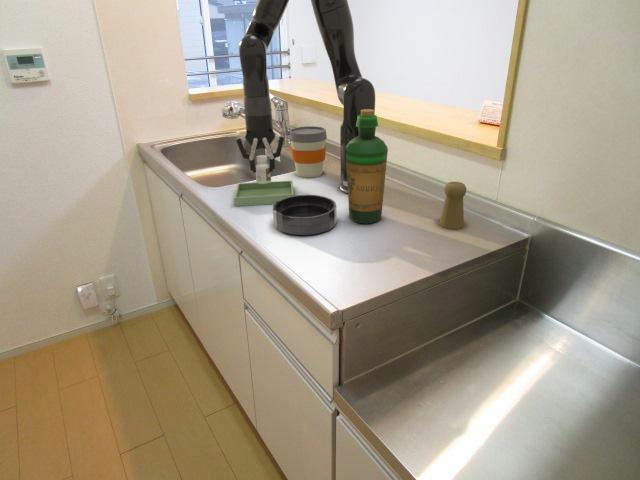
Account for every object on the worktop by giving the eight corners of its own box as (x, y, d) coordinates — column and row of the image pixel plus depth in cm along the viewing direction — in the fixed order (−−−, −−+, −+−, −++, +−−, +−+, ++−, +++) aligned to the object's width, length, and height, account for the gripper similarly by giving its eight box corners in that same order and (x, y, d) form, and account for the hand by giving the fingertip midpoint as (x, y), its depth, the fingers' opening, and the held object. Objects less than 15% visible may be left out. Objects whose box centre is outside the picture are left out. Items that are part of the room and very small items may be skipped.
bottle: (339, 223, 117) (339, 113, 105) (351, 209, 126) (352, 105, 114) (380, 228, 113) (384, 115, 101) (389, 213, 122) (394, 107, 110)
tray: (292, 188, 143) (292, 180, 142) (294, 202, 131) (293, 194, 130) (238, 190, 142) (237, 183, 141) (234, 206, 130) (233, 198, 129)
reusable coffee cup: (318, 166, 164) (317, 124, 157) (333, 175, 153) (332, 131, 147) (286, 171, 159) (283, 128, 153) (299, 181, 149) (297, 136, 142)
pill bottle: (271, 183, 133) (269, 158, 129) (256, 184, 132) (253, 158, 129) (271, 179, 137) (269, 154, 133) (256, 179, 136) (254, 154, 133)
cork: (464, 220, 116) (469, 180, 111) (463, 230, 111) (468, 188, 106) (440, 218, 118) (444, 178, 113) (438, 227, 113) (442, 186, 108)
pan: (332, 210, 125) (332, 193, 123) (339, 234, 111) (339, 215, 109) (274, 213, 124) (273, 196, 122) (274, 238, 110) (272, 219, 108)
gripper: (283, 109, 130) (286, 166, 137) (233, 110, 129) (239, 168, 136) (283, 113, 123) (287, 174, 130) (231, 115, 122) (237, 176, 129)
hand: (262, 171), depth 133 cm, fingers closed on pill bottle, 4 cm apart
